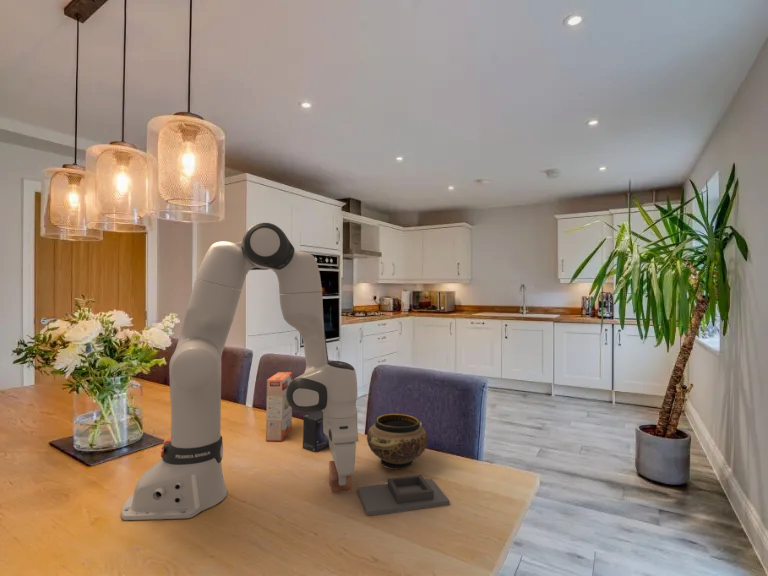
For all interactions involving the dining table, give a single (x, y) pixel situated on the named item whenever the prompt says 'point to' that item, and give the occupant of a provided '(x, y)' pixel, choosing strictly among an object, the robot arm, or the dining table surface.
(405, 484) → the base board
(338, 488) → the terracotta block
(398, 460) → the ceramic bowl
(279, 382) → the cracker box
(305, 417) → the small box
